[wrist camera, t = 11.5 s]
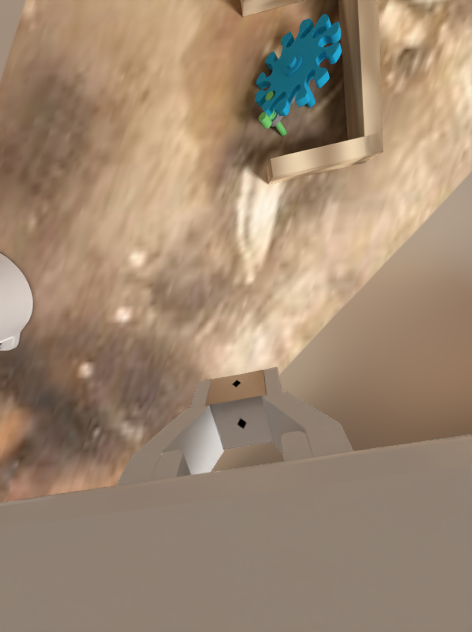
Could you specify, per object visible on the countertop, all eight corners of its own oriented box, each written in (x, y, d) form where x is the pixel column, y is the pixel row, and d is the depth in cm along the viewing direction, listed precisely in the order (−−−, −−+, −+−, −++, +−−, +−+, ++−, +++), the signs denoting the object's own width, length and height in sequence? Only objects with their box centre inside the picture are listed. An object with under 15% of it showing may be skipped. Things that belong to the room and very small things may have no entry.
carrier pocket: (268, 184, 35) (273, 177, 31) (239, -6, 29) (240, -47, 25) (364, 162, 34) (383, 151, 30) (354, -38, 29) (374, -86, 24)
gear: (294, 3, 28) (362, 12, 23) (314, 53, 33) (374, 70, 28) (233, 103, 32) (279, 129, 27) (258, 135, 37) (302, 163, 32)
